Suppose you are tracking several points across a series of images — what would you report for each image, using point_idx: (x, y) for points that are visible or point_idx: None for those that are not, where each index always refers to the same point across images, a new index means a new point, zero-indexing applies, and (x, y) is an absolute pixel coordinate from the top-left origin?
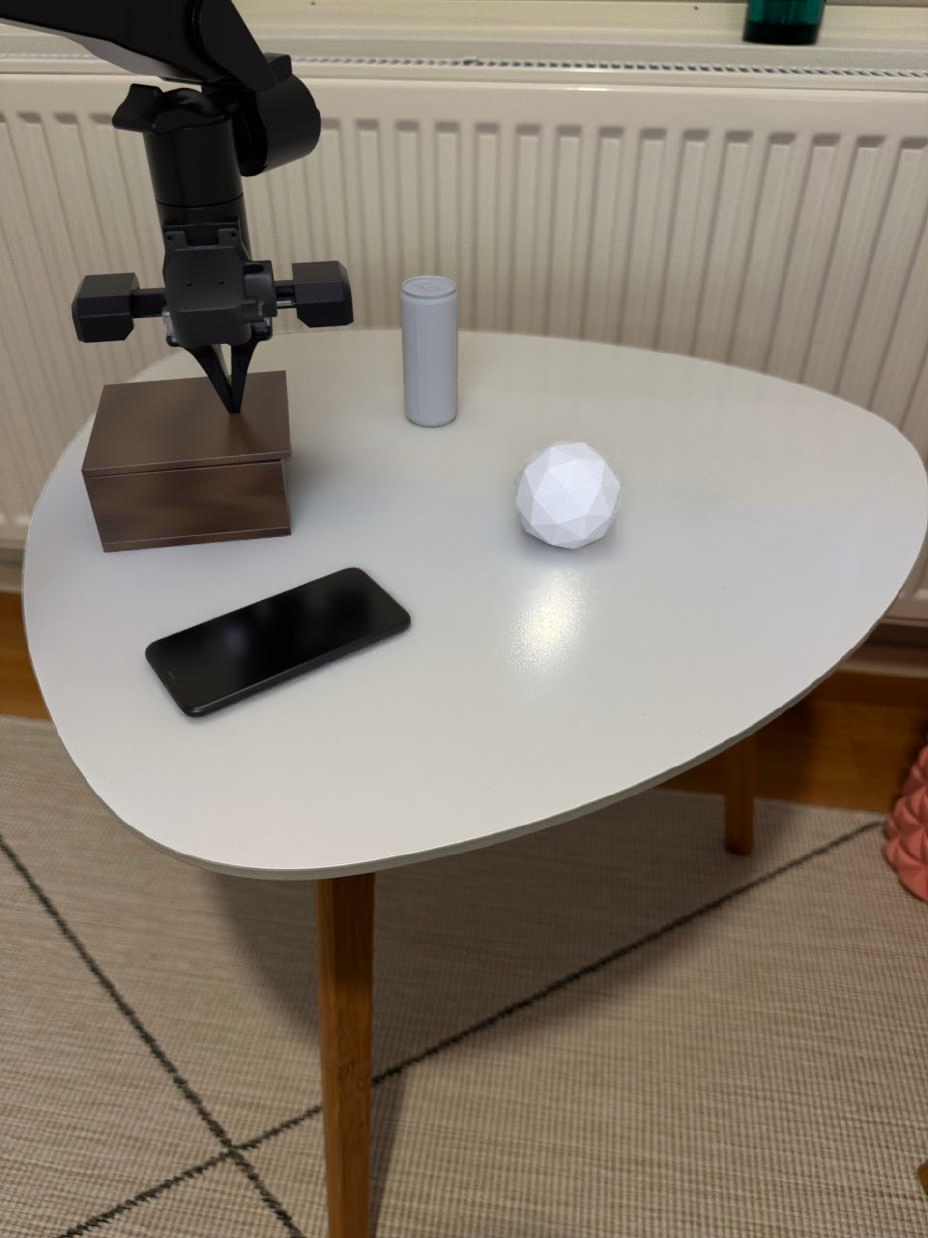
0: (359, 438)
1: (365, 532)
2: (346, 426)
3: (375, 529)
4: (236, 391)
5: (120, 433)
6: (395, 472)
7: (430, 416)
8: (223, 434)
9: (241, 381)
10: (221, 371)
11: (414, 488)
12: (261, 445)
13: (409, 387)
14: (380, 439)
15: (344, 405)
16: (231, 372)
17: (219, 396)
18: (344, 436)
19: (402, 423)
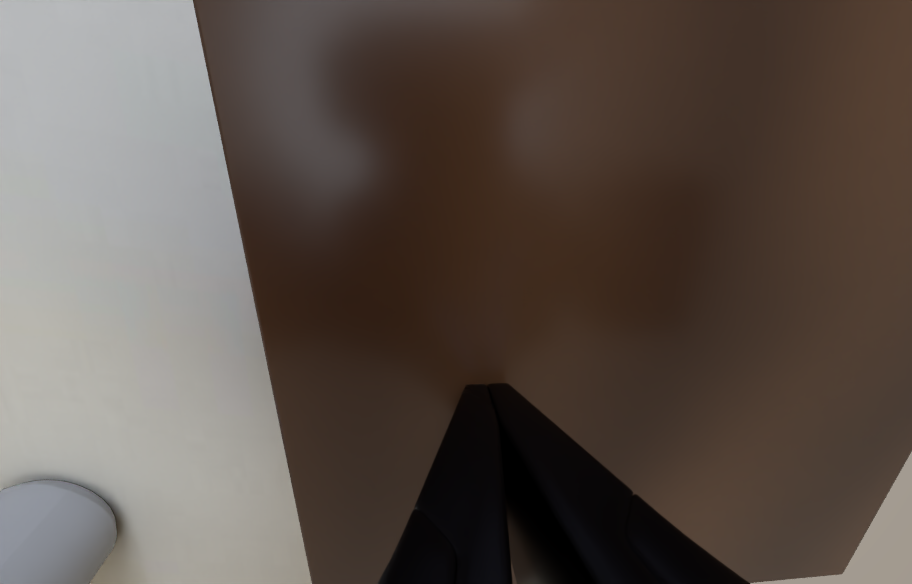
0: (216, 450)
1: (125, 20)
2: (252, 492)
3: (97, 32)
4: (476, 440)
5: (903, 297)
6: (100, 311)
7: (27, 498)
8: (536, 225)
9: (447, 478)
10: (573, 530)
11: (29, 232)
12: (358, 73)
13: (35, 578)
14: (167, 443)
15: (266, 557)
16: (506, 525)
17: (555, 424)
18: (252, 460)
19: (127, 495)
